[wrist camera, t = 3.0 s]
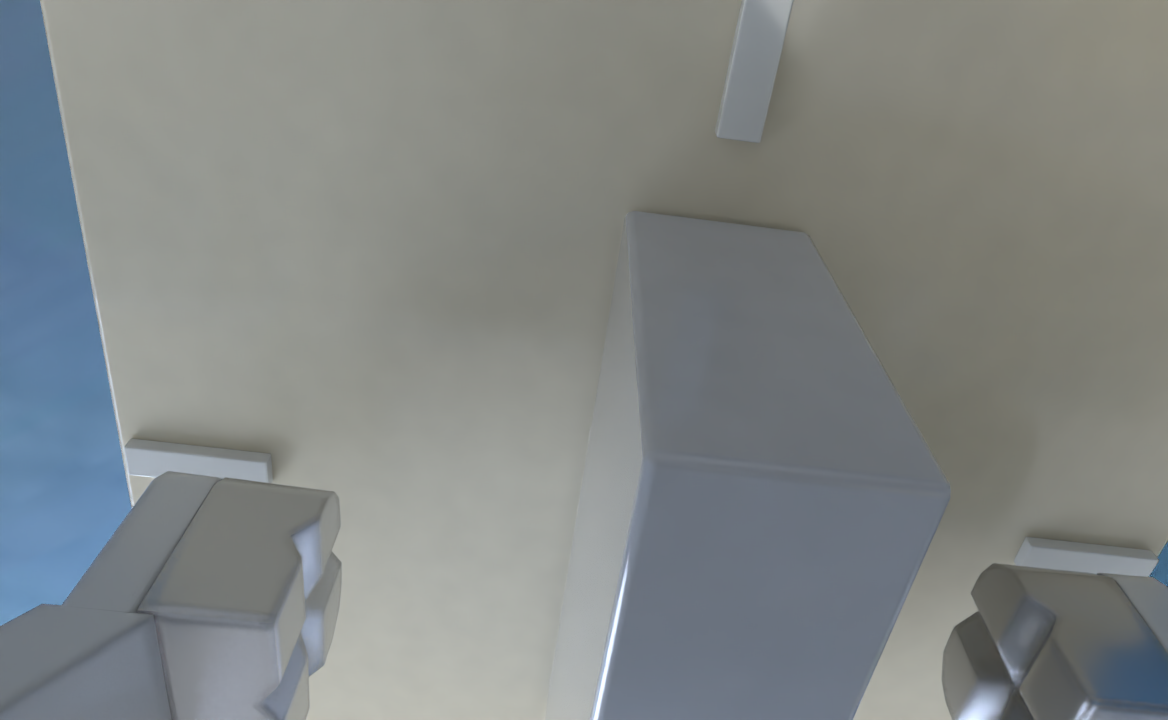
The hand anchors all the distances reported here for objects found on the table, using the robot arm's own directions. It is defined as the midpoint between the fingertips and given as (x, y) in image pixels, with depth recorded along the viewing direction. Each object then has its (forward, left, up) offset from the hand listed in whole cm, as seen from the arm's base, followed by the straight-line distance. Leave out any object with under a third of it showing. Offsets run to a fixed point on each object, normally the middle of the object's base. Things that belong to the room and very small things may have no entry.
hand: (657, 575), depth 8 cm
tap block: (0, 0, -4) cm, 4 cm away
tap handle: (0, 0, -1) cm, 1 cm away
